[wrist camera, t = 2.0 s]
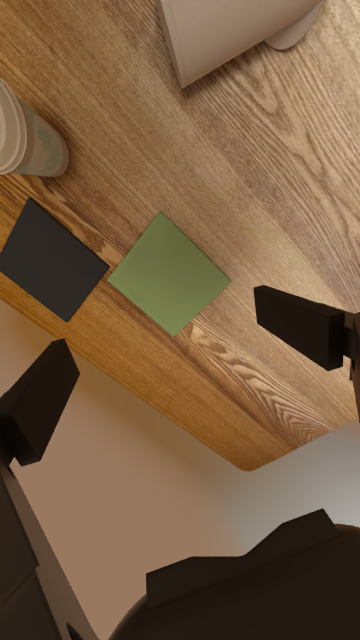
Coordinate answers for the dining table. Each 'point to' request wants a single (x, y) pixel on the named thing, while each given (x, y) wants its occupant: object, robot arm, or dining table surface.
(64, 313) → the charcoal mat
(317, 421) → the dining table surface
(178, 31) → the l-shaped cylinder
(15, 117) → the coffee cup
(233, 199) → the dining table surface
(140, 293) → the sage mat
